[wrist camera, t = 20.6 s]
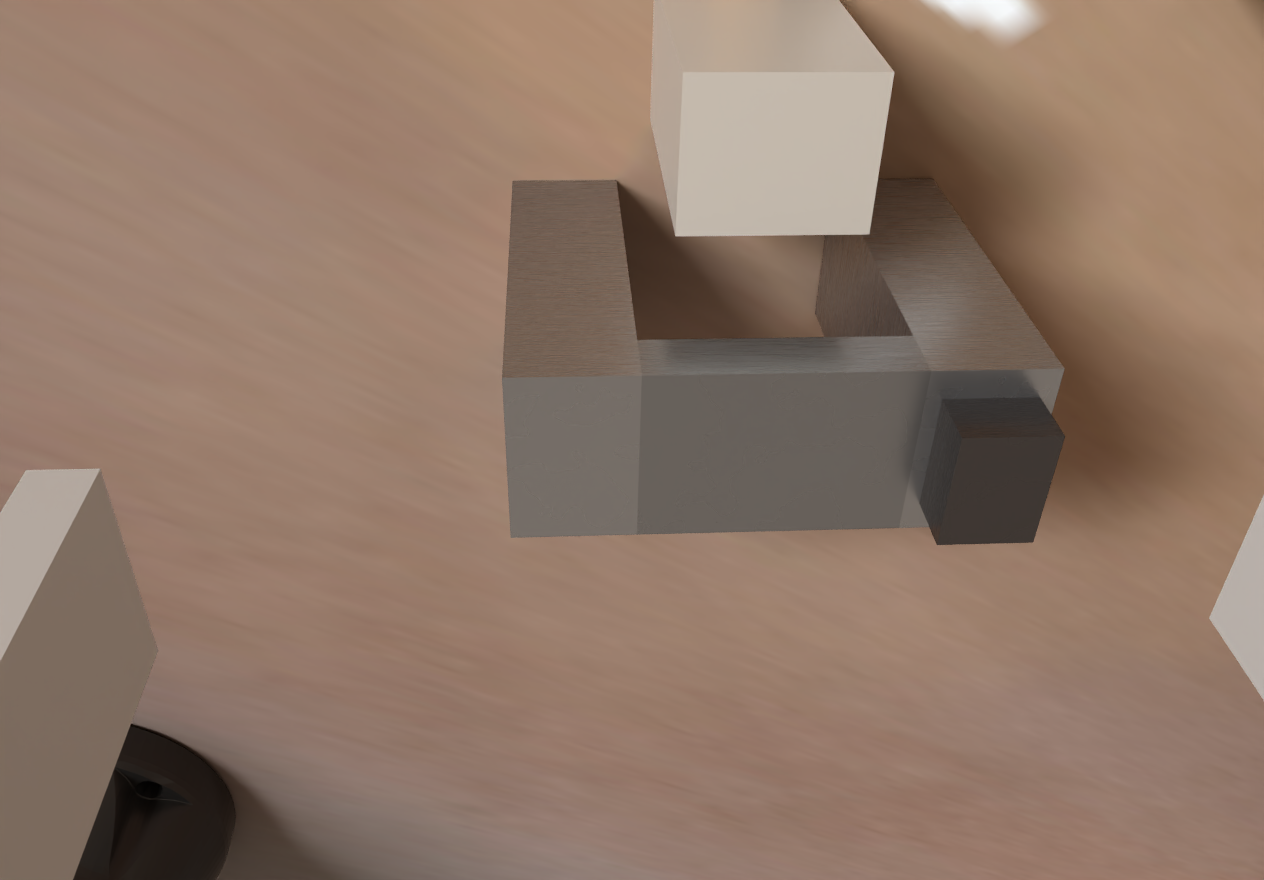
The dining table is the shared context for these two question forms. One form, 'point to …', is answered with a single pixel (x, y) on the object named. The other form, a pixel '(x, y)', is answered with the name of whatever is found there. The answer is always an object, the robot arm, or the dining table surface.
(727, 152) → the white block dumbbell
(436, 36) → the dining table surface
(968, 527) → the gray notched block
